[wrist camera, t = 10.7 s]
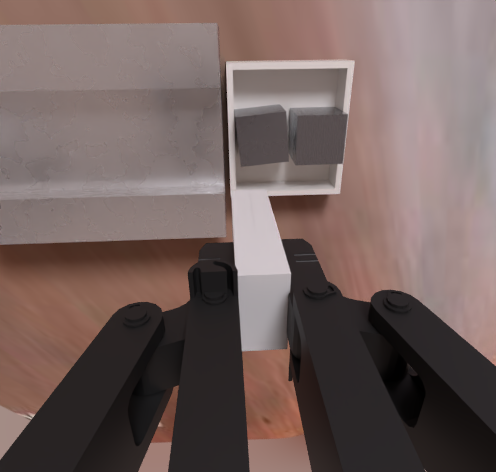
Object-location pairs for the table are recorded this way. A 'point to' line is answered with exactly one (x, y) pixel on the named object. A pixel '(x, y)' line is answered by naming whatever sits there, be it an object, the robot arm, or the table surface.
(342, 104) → the tray
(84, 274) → the table surface
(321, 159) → the dark grey cube
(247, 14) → the table surface
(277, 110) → the dark gray cube
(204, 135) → the slot block
